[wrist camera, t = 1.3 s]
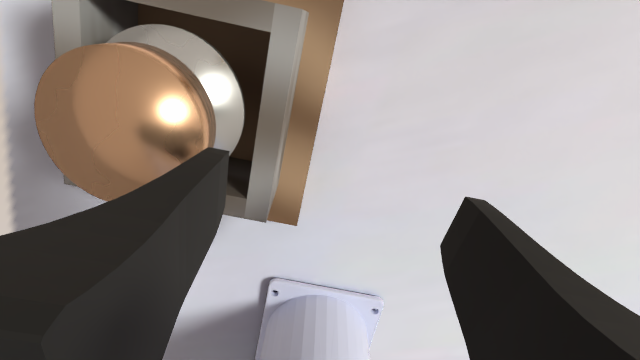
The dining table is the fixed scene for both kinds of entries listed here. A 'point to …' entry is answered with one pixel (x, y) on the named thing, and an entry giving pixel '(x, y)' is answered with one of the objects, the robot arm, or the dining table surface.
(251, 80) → the base
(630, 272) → the dining table surface
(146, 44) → the plunger
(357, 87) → the dining table surface
